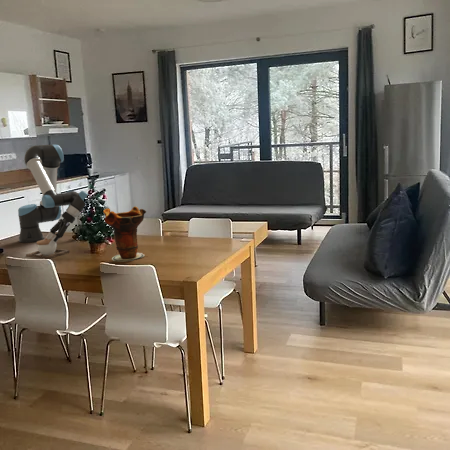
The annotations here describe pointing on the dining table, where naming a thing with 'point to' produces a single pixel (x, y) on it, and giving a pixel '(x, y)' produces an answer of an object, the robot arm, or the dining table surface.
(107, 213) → the decorative vase
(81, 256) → the dining table surface
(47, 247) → the lidded jar
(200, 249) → the dining table surface
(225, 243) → the dining table surface
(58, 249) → the walnut frame
